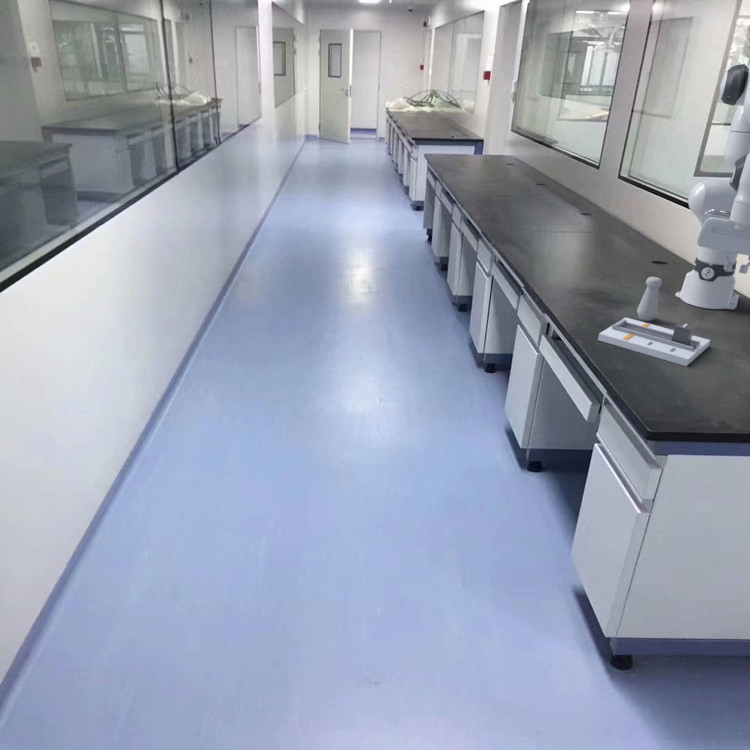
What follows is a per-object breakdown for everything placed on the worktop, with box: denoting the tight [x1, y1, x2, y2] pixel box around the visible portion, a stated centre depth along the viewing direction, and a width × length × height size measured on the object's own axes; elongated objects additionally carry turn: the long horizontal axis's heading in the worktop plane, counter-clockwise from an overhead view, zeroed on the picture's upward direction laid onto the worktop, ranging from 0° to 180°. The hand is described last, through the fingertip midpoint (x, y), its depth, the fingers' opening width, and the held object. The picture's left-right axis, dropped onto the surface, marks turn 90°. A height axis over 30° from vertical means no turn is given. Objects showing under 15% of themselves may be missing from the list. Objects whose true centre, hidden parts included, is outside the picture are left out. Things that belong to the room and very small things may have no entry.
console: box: [597, 317, 711, 367], centre depth 173 cm, size 18×24×4 cm
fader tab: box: [672, 322, 695, 345], centre depth 167 cm, size 3×4×5 cm
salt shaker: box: [636, 276, 663, 322], centre depth 188 cm, size 6×6×13 cm
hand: (735, 271), depth 154 cm, fingers open, 2 cm apart
